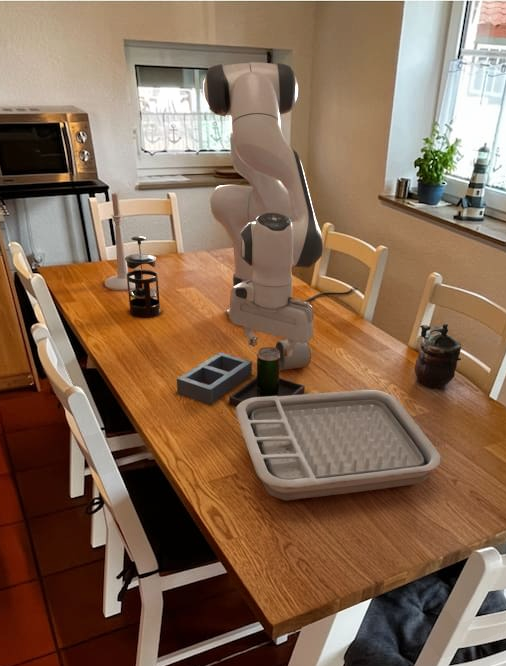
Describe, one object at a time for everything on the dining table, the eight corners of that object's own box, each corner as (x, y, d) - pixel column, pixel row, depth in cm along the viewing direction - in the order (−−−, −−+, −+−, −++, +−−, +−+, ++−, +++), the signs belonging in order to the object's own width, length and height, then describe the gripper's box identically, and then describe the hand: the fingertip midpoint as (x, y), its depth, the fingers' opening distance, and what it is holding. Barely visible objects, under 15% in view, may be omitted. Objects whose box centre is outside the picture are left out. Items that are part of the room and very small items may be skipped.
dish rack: (445, 497, 115) (453, 464, 111) (261, 523, 105) (262, 488, 101) (383, 414, 140) (388, 384, 136) (231, 429, 130) (230, 398, 126)
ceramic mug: (312, 371, 157) (314, 344, 153) (283, 375, 154) (284, 348, 150) (296, 354, 165) (297, 329, 161) (269, 358, 162) (270, 332, 158)
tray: (262, 379, 151) (262, 372, 150) (304, 393, 147) (304, 385, 146) (229, 404, 139) (229, 396, 138) (273, 419, 135) (273, 411, 134)
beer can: (263, 404, 139) (264, 358, 133) (252, 394, 143) (253, 349, 137) (282, 399, 142) (284, 354, 136) (271, 389, 146) (273, 345, 139)
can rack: (220, 365, 156) (220, 351, 154) (251, 375, 153) (252, 361, 150) (177, 393, 142) (176, 378, 140) (210, 404, 139) (210, 389, 137)
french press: (165, 316, 181) (160, 241, 169) (134, 320, 177) (127, 243, 164) (154, 303, 189) (148, 230, 177) (124, 306, 185) (117, 232, 173)
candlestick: (96, 283, 201) (84, 191, 185) (126, 275, 210) (117, 186, 194) (121, 293, 195) (111, 198, 179) (151, 284, 204) (144, 193, 188)
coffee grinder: (395, 385, 154) (405, 320, 144) (422, 367, 164) (433, 305, 154) (439, 402, 147) (453, 336, 138) (463, 382, 158) (478, 319, 148)
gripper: (320, 299, 128) (316, 356, 135) (241, 279, 135) (240, 334, 142) (307, 308, 123) (303, 367, 130) (225, 286, 130) (226, 343, 137)
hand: (270, 350), depth 136 cm, fingers open, 8 cm apart
